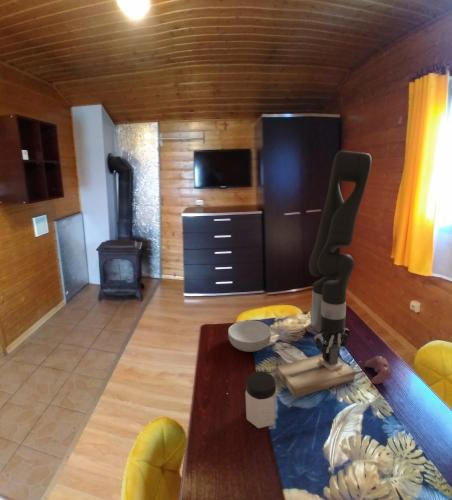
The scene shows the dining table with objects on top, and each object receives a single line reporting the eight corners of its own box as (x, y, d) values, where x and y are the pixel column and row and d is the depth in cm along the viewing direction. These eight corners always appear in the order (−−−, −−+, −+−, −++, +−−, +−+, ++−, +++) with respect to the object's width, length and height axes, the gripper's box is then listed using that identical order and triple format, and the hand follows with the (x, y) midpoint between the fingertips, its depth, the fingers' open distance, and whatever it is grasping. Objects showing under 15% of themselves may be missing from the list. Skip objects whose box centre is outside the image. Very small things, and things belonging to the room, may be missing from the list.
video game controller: (383, 390, 96) (396, 374, 94) (370, 383, 96) (383, 367, 94) (375, 369, 106) (386, 354, 103) (363, 363, 106) (374, 348, 103)
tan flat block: (277, 373, 104) (277, 366, 103) (331, 358, 110) (331, 350, 109) (295, 398, 93) (295, 389, 92) (354, 379, 99) (355, 371, 98)
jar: (250, 431, 82) (249, 394, 79) (242, 408, 90) (241, 374, 86) (281, 423, 84) (281, 387, 81) (271, 402, 91) (270, 368, 88)
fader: (318, 360, 104) (319, 342, 102) (331, 356, 106) (331, 339, 104) (329, 371, 99) (330, 352, 97) (342, 367, 100) (343, 348, 98)
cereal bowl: (280, 347, 118) (280, 331, 116) (246, 364, 109) (245, 347, 107) (252, 330, 132) (252, 315, 130) (220, 343, 123) (219, 328, 121)
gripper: (343, 304, 103) (340, 348, 107) (307, 312, 98) (306, 357, 103) (359, 313, 96) (355, 360, 100) (321, 322, 92) (319, 371, 96)
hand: (330, 359), depth 102 cm, fingers closed on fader, 3 cm apart
